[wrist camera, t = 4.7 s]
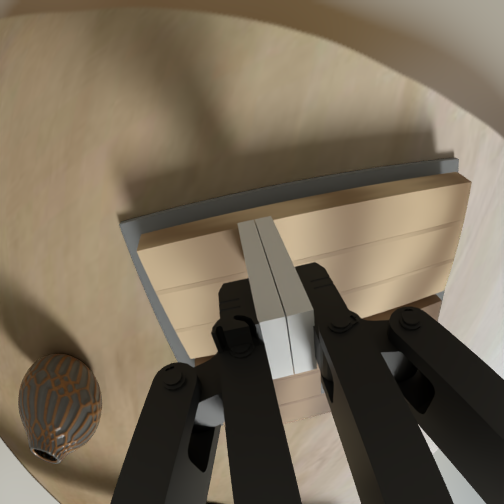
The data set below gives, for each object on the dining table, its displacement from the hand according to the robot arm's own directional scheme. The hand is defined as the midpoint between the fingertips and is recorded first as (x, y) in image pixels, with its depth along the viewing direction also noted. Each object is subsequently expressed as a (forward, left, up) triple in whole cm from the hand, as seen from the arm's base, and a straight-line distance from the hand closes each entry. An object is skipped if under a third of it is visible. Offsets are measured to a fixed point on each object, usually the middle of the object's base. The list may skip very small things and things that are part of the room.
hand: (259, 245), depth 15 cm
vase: (-17, -9, -4) cm, 20 cm away
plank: (+4, -3, -2) cm, 6 cm away
